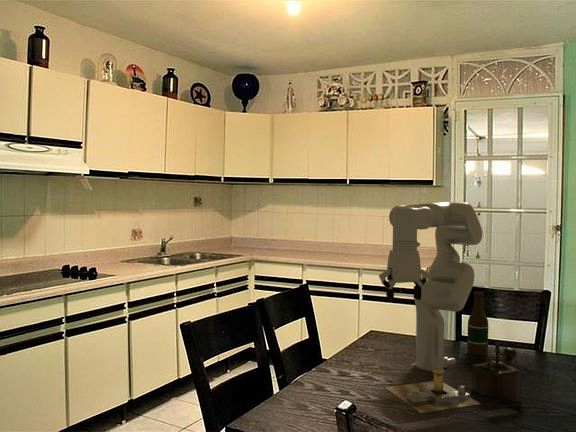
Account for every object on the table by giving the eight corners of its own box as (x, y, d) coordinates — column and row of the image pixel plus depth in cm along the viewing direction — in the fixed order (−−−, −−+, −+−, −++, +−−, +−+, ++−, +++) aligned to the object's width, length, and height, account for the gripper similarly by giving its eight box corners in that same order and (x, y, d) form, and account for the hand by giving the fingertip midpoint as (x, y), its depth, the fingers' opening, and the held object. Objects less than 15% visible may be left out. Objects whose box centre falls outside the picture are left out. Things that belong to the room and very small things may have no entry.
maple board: (439, 384, 168) (439, 380, 168) (480, 408, 149) (480, 403, 149) (384, 392, 162) (384, 387, 162) (420, 418, 143) (420, 412, 143)
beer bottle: (465, 349, 208) (466, 290, 207) (485, 350, 206) (486, 290, 206) (469, 355, 200) (470, 293, 199) (490, 356, 199) (491, 294, 198)
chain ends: (457, 391, 159) (457, 381, 158) (474, 401, 151) (475, 391, 151) (403, 399, 152) (403, 388, 152) (418, 409, 145) (418, 399, 145)
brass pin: (439, 397, 154) (440, 367, 154) (446, 401, 151) (447, 371, 150) (429, 398, 153) (430, 368, 152) (436, 403, 150) (437, 372, 149)
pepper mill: (468, 394, 160) (469, 337, 159) (495, 389, 165) (496, 333, 164) (508, 414, 146) (510, 350, 145) (536, 407, 151) (538, 346, 150)
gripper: (421, 244, 170) (420, 296, 170) (374, 245, 164) (373, 299, 165) (435, 246, 163) (434, 300, 163) (386, 248, 157) (385, 304, 158)
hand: (403, 300), depth 164 cm, fingers open, 9 cm apart
